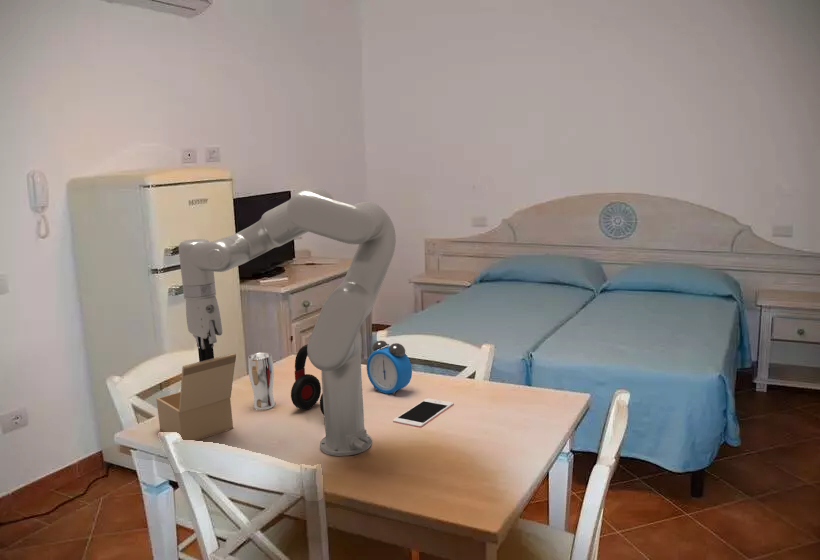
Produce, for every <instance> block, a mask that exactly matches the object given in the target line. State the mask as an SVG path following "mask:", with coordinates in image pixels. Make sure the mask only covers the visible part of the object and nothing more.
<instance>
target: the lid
mask: <svg viewBox="0 0 820 560" xmlns="http://www.w3.org/2000/svg"><path fill="white" fill-rule="evenodd" d="M236 360H237V354H236V352H232V353H229V354H226V355H225V354H224V355H221V356H217V357H214V358H213V359H209V360H205V361H201V362H199V361H198V362H194V363H190V364H185V365H182V369H181V381H180V392H181V393H180V405H179V412H180V413H181V412H184V411H187V410H191V409H194V408H197V407H201V406H204V405H208V404H211V403H214V402H218V401H221V400H224V399H228V398H230V399H231V398H232V390H233V383H234V374H235V367H236Z"/></svg>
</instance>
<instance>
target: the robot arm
mask: <svg viewBox="0 0 820 560" xmlns="http://www.w3.org/2000/svg"><path fill="white" fill-rule="evenodd" d="M308 232H309V233H311V234H314V235H318V236H320V237H324V238H327V239H330V240H333V241H337V242H339V243H342V244H348V245H358V247H357V249H356V251H355V252H354V255H353V256H352V259H351V262H350V265H349V268H348V270H347V272H346V275H345V277H344V278H343V281H342V282H341V283H340V284H339V285H338V286H337V287H336V288H335V289H334V290H332V291H331V292H330V293H329V294H328V296H327V297H326V299H325V300H324V303H323V305H322V307H321V310H320V312H319V315H318V317H317V320H316V322H315V324H314V327H313V330H312V332H311V334H310V337H309V339H308V341H307V344H308V346H307V353H308V355H307V357H308V361H310V363H311V364H312V365H313V366H314V367H315V368H316V369H318V370H320V371H321V373H320V375H321V394H322V393H323V406H324V415H323V417H324V430H325V436H324V437H323V438H322V439H321V440H320V442H319V447H320V450H321V451H322V452H323V453H325V454H327V455H330V456H335V457H345V456H353V455H357V454H358V455H359V454H360V453H363V452H366V451H367V450H368V449H369V448H371V446H372V444H373V440H372V439H373V438H372V437H371V436H370V434H369V433H368V432H367V429H366V428H365V414H364V399H363V398H364V397H363V379H362V377H363V376H362V347H363V346H362V343H363V342H362V341H363V340H362V335H361V331H360V329H361V327H362V324H363V323H364V320H366V318H367V317H368V316H370V314H371V312H372V311H373V309H374V308H375V307H374V306H375V303H376V300H377V297H378V296H379V292H380V290H381V288H382V285H383V283H384V281H385V278H386V275H387V272H388V270H389V267H390V265H391V263H392V260H393V258H394V255H395V254H394V253H395V250H396V243H397V240H396V237H397V235H396V229H395V226H394V223H393V221H392V219H391V217H390V216H389V214H388V213H387V212H386V210H385V209H384V208H383V207H382V206H380V205H379V204H377V203H376V202H372V201H361V202H358V203H355V204H350V203H346V202H342V201H339V200H335V199H334V197H333V195H332V194H331V193H330V192H329V191H328V190H326V189H323V188H320V187H312V188H308V189H303V190H300V191H298V192H296V193H294V194H293V195H292V196H291V197H290V198H289V199H288V200H286V201H284V202H283V203H281V204H279V205H277V206H275V207H274V208H271V209H269V210H267V211H266V212H264V213H263V214H262V215H261V218H259V220H258V221H256V222H255V223H253V224H251V225H250V226H248V227H246V228H244V229H242V230H240V231H238V232H236V233H233V234H231V235H229V236H226V237H221V238H220V239H216V240H213V241H209V240H208V239H205V238H195V239H186V240H184V241H181V242H180V243H179V244H178V255H179V262H180V263H179V265H180V273H181V282H182V293H183V298H184V299H185V313H186V324H187V330H188V332H189V334H191V335H192V336H193V337H194V338H195V342H196V347H197V352H198V360H199V361H198V362H201V361H205V360H209V359H213V358H215V354H214V347H215V345H214V344H216V343H217V336H222V335H223V326H222V319H221V312H220V307H219V304H218V299H217V297H216V296H217V293H216V292H217V291H216V283H215V272H216V273H223V272H227V271H230V270H232V269H234V268H236V267H239V266H241V265H244V264H246V263H248V262H249V261H251V260H253V259H256V258H258V257H259V256H261V255H264V254H265V253H267V252H269V251H271V250H272V249H274V248H279V247H282V246H283V245H285V244H287V243H289V242H291V241H293V240H294V239H297V238H299V237H301V236H302V235H305V234H307V233H308Z"/></svg>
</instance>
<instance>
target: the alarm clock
mask: <svg viewBox="0 0 820 560" xmlns="http://www.w3.org/2000/svg"><path fill="white" fill-rule="evenodd" d="M371 351H372V352H371V354H370V355H369V356H368V358H367V361H366V373H367V377H368V379H369V382H370V384H371V385H372V386H373V387H374V388H375V389H376V392H381V393H382V394H393V396H396V393H395V392H397V391H399V390H401V389H404V388H405V387H407V386H408V385H409V383H410V382H411V379H412V376H413V375H412V374H413V368H412V364H411V361H410V358H409V356H408V355H407V354H406V349H405V347H404V346H403V345H402V344H401V343H397V342H395V343H392V344H390V343H387V342H386V341H385V340H376V341H375V342H374V343H373V344H372V345H371Z"/></svg>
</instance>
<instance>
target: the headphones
mask: <svg viewBox="0 0 820 560" xmlns="http://www.w3.org/2000/svg"><path fill="white" fill-rule="evenodd" d="M307 346H308V343H307V344H304V345H303V346H301V347H300V348H299V350H298V352H297V353H296V356H295V361H294V380H295V381H294V382H293V384H292V387H291V390H290V399H291V402H292V404H293V406H294V407H296V408H297V409H299V410H309V409H312V408H313V407H314V406H315V405H316V404H317V402H318V401H319V410H320V412H321V414H322V416H324V406H323V393H322V384H321V382H320V380H319V378H317V376H315V375H313V374H307V373H306V371H305V369H306V368H305V367H306V362H307V357H308V353H307Z"/></svg>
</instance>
